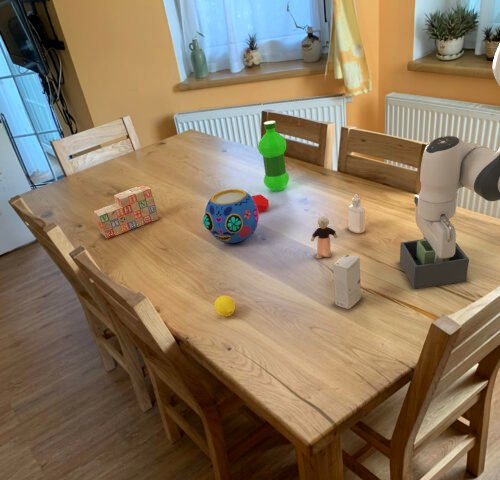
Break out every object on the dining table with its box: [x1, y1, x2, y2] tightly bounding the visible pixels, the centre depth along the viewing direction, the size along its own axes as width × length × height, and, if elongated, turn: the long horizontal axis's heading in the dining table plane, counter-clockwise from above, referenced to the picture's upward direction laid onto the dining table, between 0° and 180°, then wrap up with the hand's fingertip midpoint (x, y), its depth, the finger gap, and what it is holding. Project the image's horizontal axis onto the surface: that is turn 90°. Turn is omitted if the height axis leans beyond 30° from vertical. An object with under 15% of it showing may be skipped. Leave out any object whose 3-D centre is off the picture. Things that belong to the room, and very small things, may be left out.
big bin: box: [399, 238, 470, 290], centre depth 132 cm, size 13×13×7 cm
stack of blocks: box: [93, 184, 160, 239], centre depth 183 cm, size 21×6×12 cm, turn 123°
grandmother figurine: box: [310, 216, 338, 259], centre depth 145 cm, size 8×4×13 cm, turn 99°
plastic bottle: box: [257, 120, 290, 192], centre depth 187 cm, size 10×10×25 cm
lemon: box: [213, 295, 236, 317], centre depth 131 cm, size 7×5×5 cm
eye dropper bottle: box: [347, 193, 366, 234], centre depth 154 cm, size 4×6×12 cm
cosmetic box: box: [332, 253, 362, 310], centre depth 125 cm, size 6×4×12 cm
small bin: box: [416, 239, 449, 265], centre depth 130 cm, size 6×6×5 cm
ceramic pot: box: [202, 188, 260, 244], centre depth 162 cm, size 18×18×15 cm
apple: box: [250, 194, 270, 214], centre depth 179 cm, size 7×7×8 cm
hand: (432, 256), depth 131 cm, fingers closed on small bin, 6 cm apart
